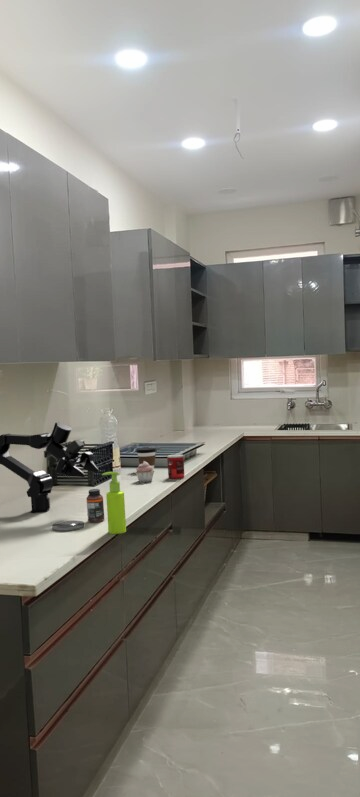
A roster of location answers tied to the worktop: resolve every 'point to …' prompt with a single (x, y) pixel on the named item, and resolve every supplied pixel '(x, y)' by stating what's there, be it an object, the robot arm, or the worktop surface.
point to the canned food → (175, 466)
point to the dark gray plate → (68, 526)
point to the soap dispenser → (115, 506)
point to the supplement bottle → (95, 506)
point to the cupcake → (144, 472)
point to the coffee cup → (147, 456)
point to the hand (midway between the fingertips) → (91, 473)
